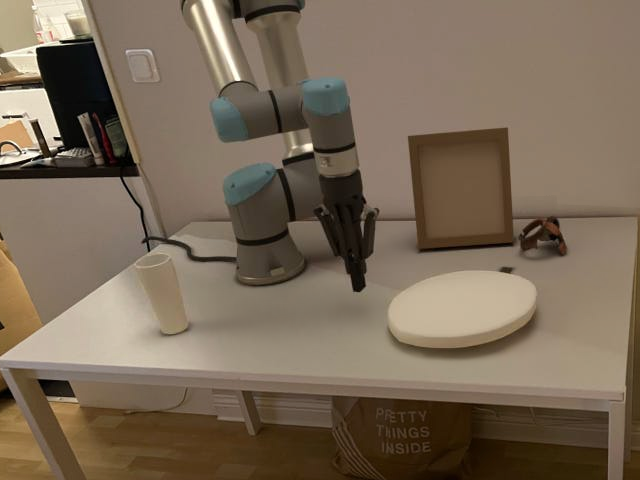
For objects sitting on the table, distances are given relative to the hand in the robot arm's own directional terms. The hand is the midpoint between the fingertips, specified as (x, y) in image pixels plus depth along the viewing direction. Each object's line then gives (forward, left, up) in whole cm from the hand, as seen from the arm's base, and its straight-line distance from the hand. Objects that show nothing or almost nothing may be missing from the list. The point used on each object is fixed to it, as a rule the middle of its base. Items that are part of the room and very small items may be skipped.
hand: (359, 288), depth 140 cm
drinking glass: (-34, -16, -5) cm, 38 cm away
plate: (+22, 0, -5) cm, 22 cm away
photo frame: (+8, +38, -5) cm, 39 cm away
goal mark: (+23, +19, -5) cm, 30 cm away
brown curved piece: (+28, +34, -5) cm, 44 cm away
